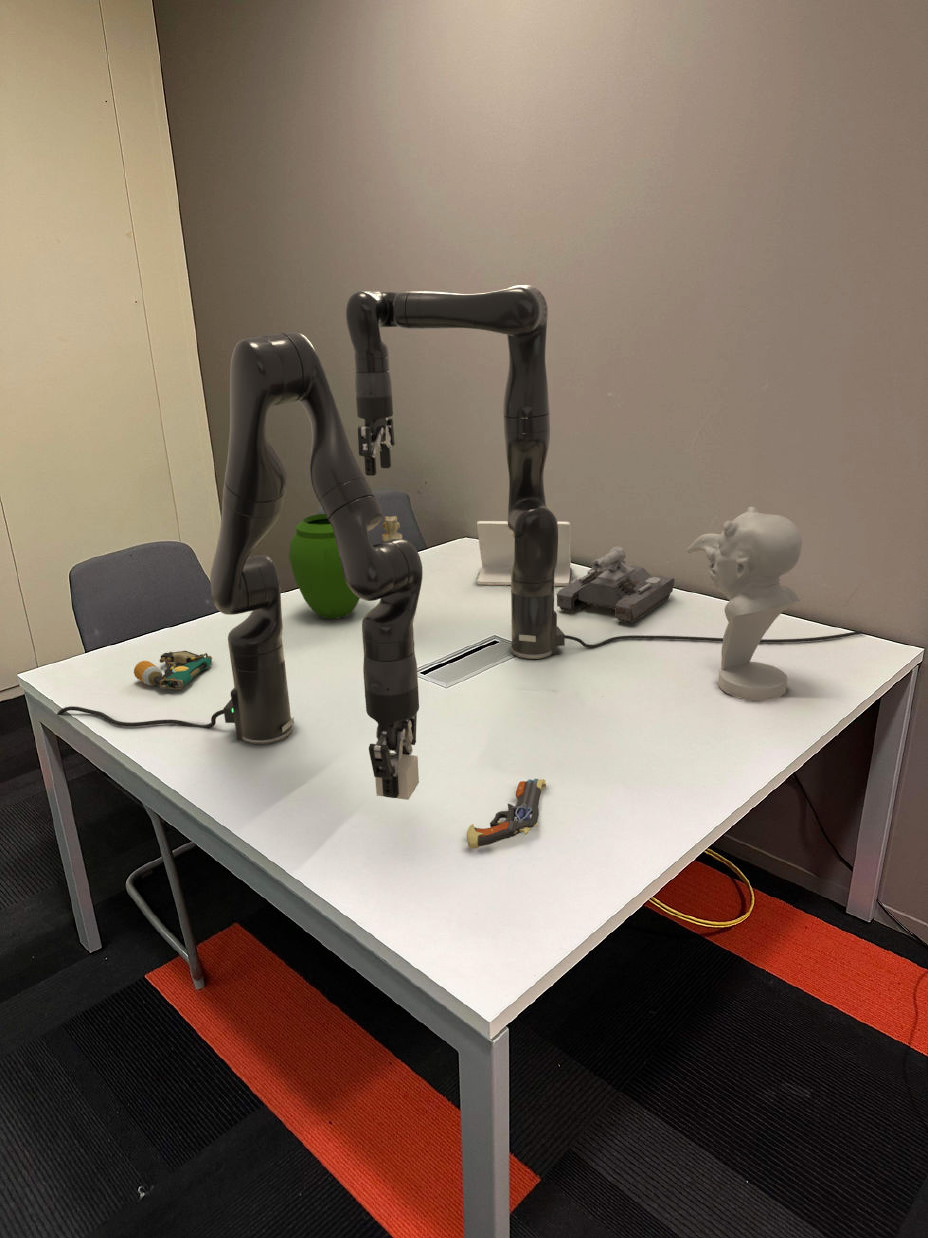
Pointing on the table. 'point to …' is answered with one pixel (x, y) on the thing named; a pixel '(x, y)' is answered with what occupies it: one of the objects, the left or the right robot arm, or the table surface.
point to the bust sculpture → (751, 595)
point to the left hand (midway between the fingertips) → (397, 786)
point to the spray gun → (172, 669)
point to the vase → (320, 569)
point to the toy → (616, 588)
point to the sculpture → (391, 529)
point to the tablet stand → (500, 553)
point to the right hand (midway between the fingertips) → (378, 471)
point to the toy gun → (511, 816)
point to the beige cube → (403, 777)
